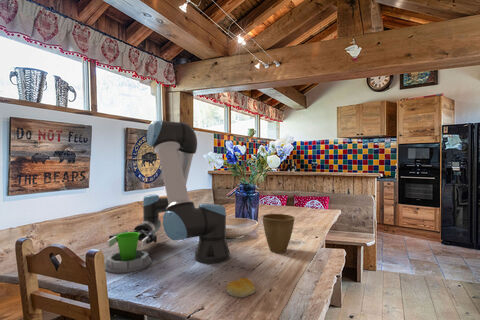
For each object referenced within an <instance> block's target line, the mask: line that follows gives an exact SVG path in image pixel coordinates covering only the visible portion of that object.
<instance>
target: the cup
mask: <svg viewBox="0 0 480 320" xmlns="http://www.w3.org/2000/svg"><path fill="white" fill-rule="evenodd" d="M120 233H121V232H120ZM117 234H118V233H117ZM139 235H140V234H139V233H137V232H130V231H128V232H126V233H121V234H118V235H117V236H116V237H117V241H118V242H117V246H118V252H120V258H121V261H131V260H135V257H136V251H137V250H138V244H139V240H138V238H139Z"/></svg>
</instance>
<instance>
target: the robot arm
mask: <svg viewBox="0 0 480 320" xmlns="http://www.w3.org/2000/svg"><path fill="white" fill-rule="evenodd" d="M146 143H147V146H149V147H153V152H154V153H155V154H157V155H158V158H159V163H160V168H161V174H162V179H163V183H164V188H165V193H166V197H160V196H159V194H145V195H144V197H143V201H142V206H143V207H142V208H143V209H142V210H143V211H142V212H143V214H142V215H143V218H142V220H143V222H141V223H140V224H138V225H136V226H135V227H134V228H133V230H130V231H128V230H124V231H122V232H117V233H115V234H110V235H108V236H109V238H108V239H107V240H106V243H107V244H106V245H107V248H108V249H110V248H111V247H112V246H114V245H116V244H118V241H117V237H116V236H117V235H118V234H121V233H126V232H137V233H139V234H140V235H139V238H138V242H139V241H140V245H141V246H140V248H141V249H143V248H145V247H146V246H147V245H149V244H151V243H157V242H158V237H157V236H158V235H157V234H156V233H157V232H158V231H159V230H160V228H161V226H162V227H163V230H164V233H165V235H166V236H167V237H168V238H169V239H170V240H172V241H179V240H181V241H184V240H186V239H191V238H197V237H198V243H197V246H196V248H195V252H194V259H195V261H197V262H200V263H205V264H218V263H222V262H223V263H224V262H226V261H227V260H229V259H230V257H231V252H230V248H229V245H228V242H227V234H226V233H227V228H226V227H227V213H226V212H227V210H226V207H225V206H224V205H222V204H216V203H206V202H205V203H199V204H198V207H197V208H196V207H195V202H194V201H192V200H191V199H190V197H189V193H188V189H187V183H188V178H189V174H190V169H191V165H192V161H193V157H194V154H196V153H197V150H198V149H197V148H198V138H197V135H196V132H195V131H194V128H193V127H191V126H190V125H189V124H188V123H186V122H183V121H182V122H181V121H180V122H178V121H165V120H162V119H161V120H152V121H151V123H149V125H148V128H147V132H146ZM162 213H163V215H162V222H161V219H160V214H162Z"/></svg>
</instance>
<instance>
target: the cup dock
mask: <svg viewBox="0 0 480 320" xmlns="http://www.w3.org/2000/svg"><path fill="white" fill-rule="evenodd" d="M151 264H152V258H151V257H150V253H149V252H147V251H145V250H142V249H137V251H136V257H135V260H131V261H121V258H120V252H119V251H118V252H113V253H112V254H110V255H109V256H107V257H106V261H105V268H106V272H107V273H112V274H127V273H129V274H130V273H134V272H138V271H141V270H144V269H146V268H148V267H149V266H150V265H151Z"/></svg>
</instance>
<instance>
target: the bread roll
mask: <svg viewBox="0 0 480 320" xmlns="http://www.w3.org/2000/svg"><path fill="white" fill-rule="evenodd" d="M226 292H227V294H228V295H229V296H231V297H235V298H245V297H246V298H247V297H248V296H252V295H253V294H254V293H255V292H256V286H255V284H254V282H253V280H251V279H250V278H247V277H240V278H238V279H237V280H231V281H230V282H229V283H227V285H226Z"/></svg>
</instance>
